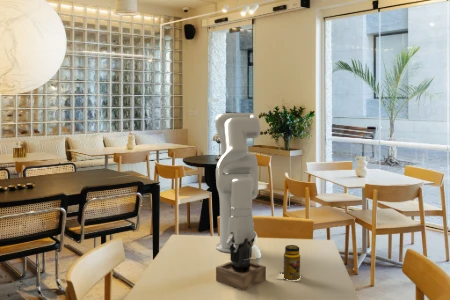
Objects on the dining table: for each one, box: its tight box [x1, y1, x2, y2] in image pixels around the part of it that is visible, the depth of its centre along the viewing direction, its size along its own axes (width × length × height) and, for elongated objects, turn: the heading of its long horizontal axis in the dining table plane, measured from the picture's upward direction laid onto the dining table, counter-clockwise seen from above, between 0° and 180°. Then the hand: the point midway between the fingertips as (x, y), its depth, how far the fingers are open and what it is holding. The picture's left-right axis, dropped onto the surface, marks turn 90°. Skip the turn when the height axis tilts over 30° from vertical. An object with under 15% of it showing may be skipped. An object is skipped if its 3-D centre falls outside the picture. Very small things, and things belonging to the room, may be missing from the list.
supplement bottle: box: [232, 238, 251, 272], centre depth 180 cm, size 7×7×12 cm
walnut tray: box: [215, 260, 267, 291], centre depth 181 cm, size 13×13×5 cm
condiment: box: [279, 244, 303, 280], centre depth 184 cm, size 7×8×12 cm
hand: (241, 258), depth 181 cm, fingers closed on supplement bottle, 6 cm apart
